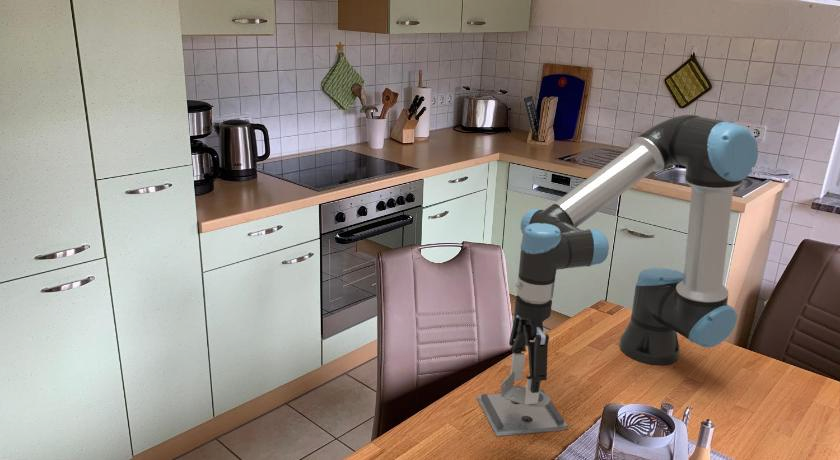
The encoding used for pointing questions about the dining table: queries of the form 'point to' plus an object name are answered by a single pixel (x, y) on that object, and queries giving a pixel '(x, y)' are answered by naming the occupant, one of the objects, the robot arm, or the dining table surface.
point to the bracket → (520, 393)
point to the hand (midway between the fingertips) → (523, 390)
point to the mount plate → (519, 416)
